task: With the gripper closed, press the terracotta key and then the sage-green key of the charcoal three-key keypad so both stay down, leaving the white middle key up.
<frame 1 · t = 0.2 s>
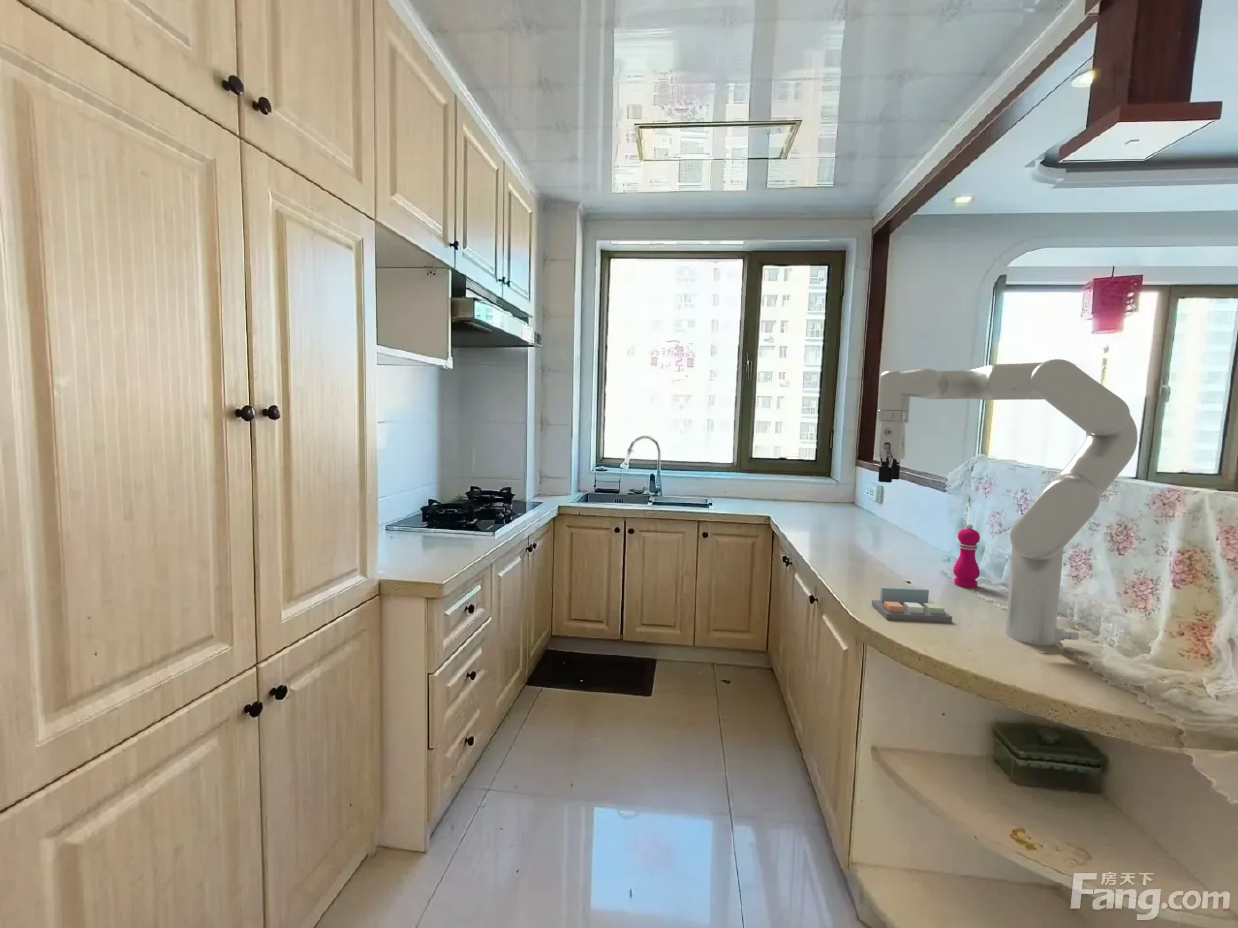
hand: (888, 480, 147), 36 cm above the worktop, tool pointing down, fingers open, 9 cm apart
keypad: (912, 621, 143), on the worktop
white key: (913, 610, 142), point 3 cm above the worktop, slide at 0.0 cm
terracotta key: (893, 609, 143), point 3 cm above the worktop, slide at 0.0 cm
pepper mill: (965, 585, 175), on the worktop
sage key: (933, 611, 142), point 3 cm above the worktop, slide at 0.0 cm
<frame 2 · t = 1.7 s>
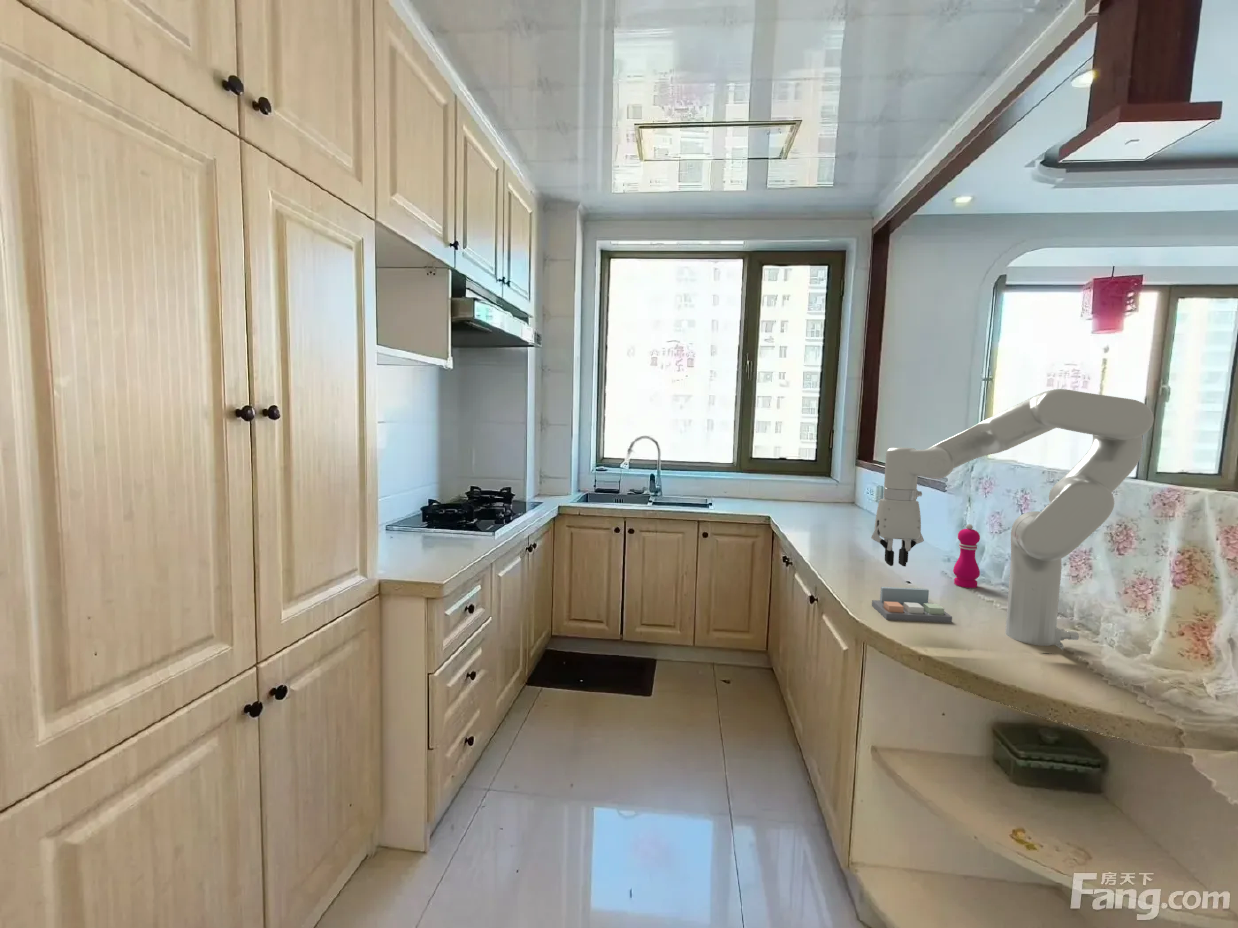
hand: (895, 564, 142), 15 cm above the worktop, tool pointing down, fingers closed
nothing on the worktop moved.
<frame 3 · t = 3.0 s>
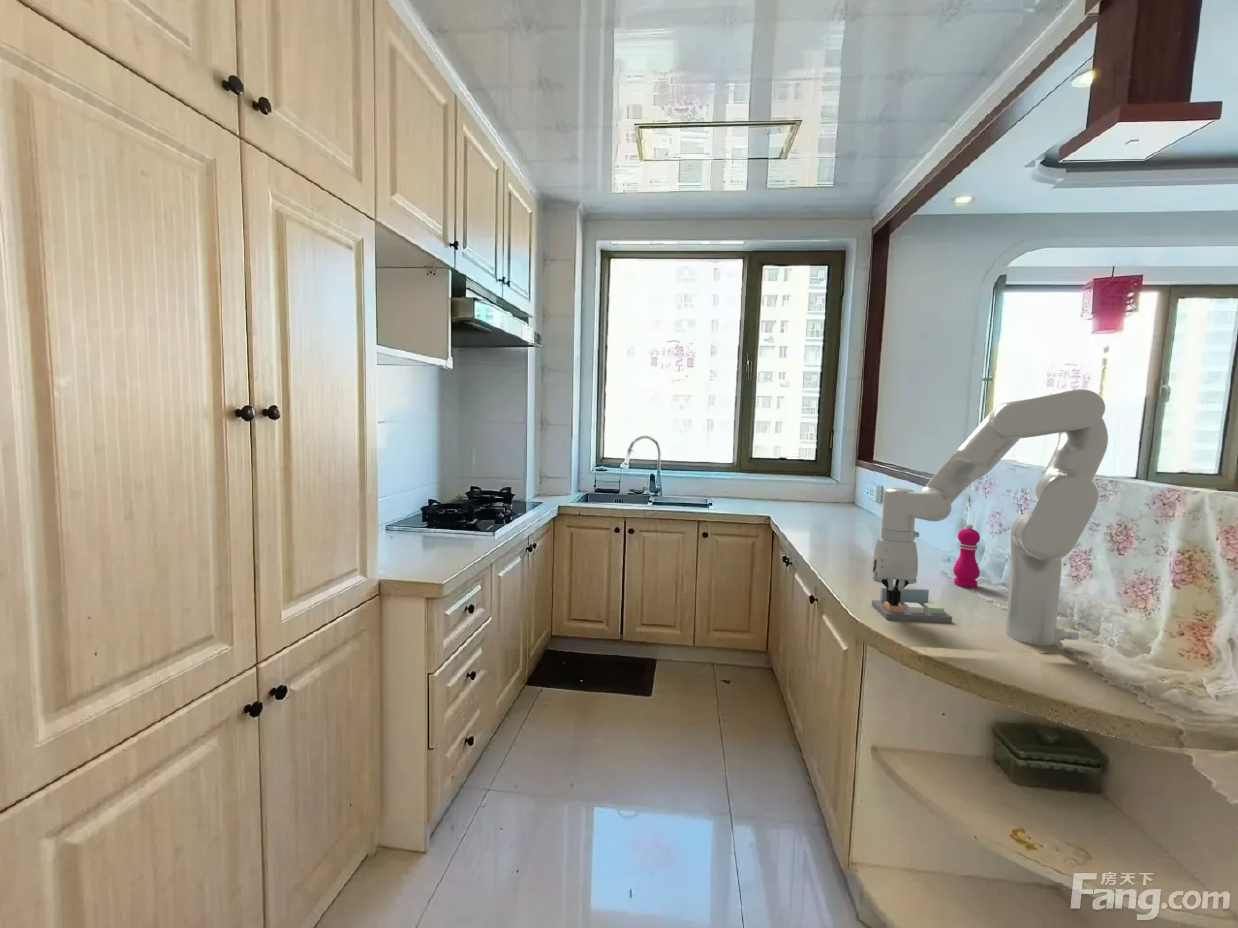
hand: (892, 603, 143), 4 cm above the worktop, tool pointing down, fingers closed
terracotta key: (893, 609, 143), point 3 cm above the worktop, slide at 0.1 cm, touching gripper
everything else where it was.
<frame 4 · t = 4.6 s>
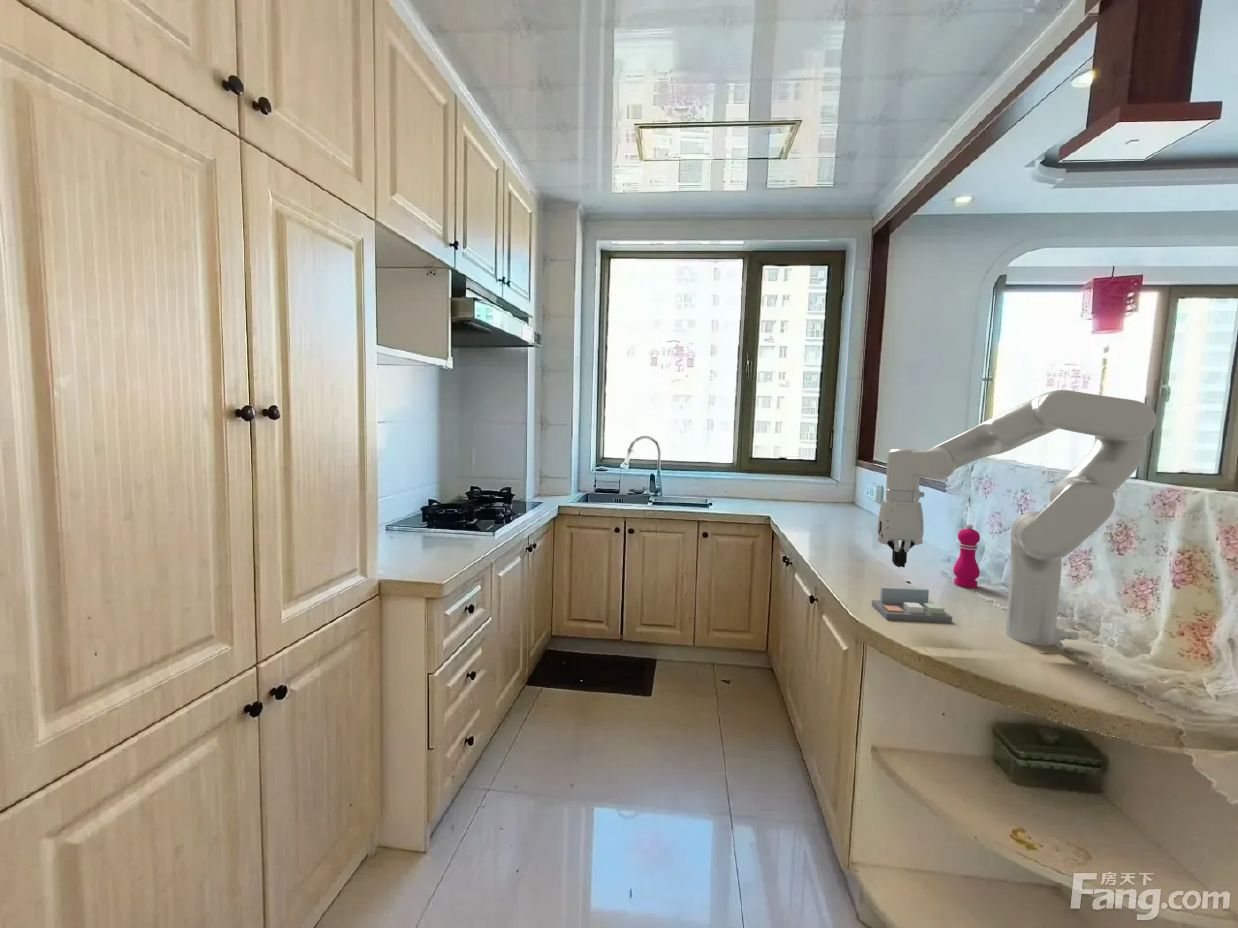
hand: (899, 565, 142), 15 cm above the worktop, tool pointing down, fingers closed
terracotta key: (893, 613, 143), point 2 cm above the worktop, slide at 1.1 cm
everything else where it was.
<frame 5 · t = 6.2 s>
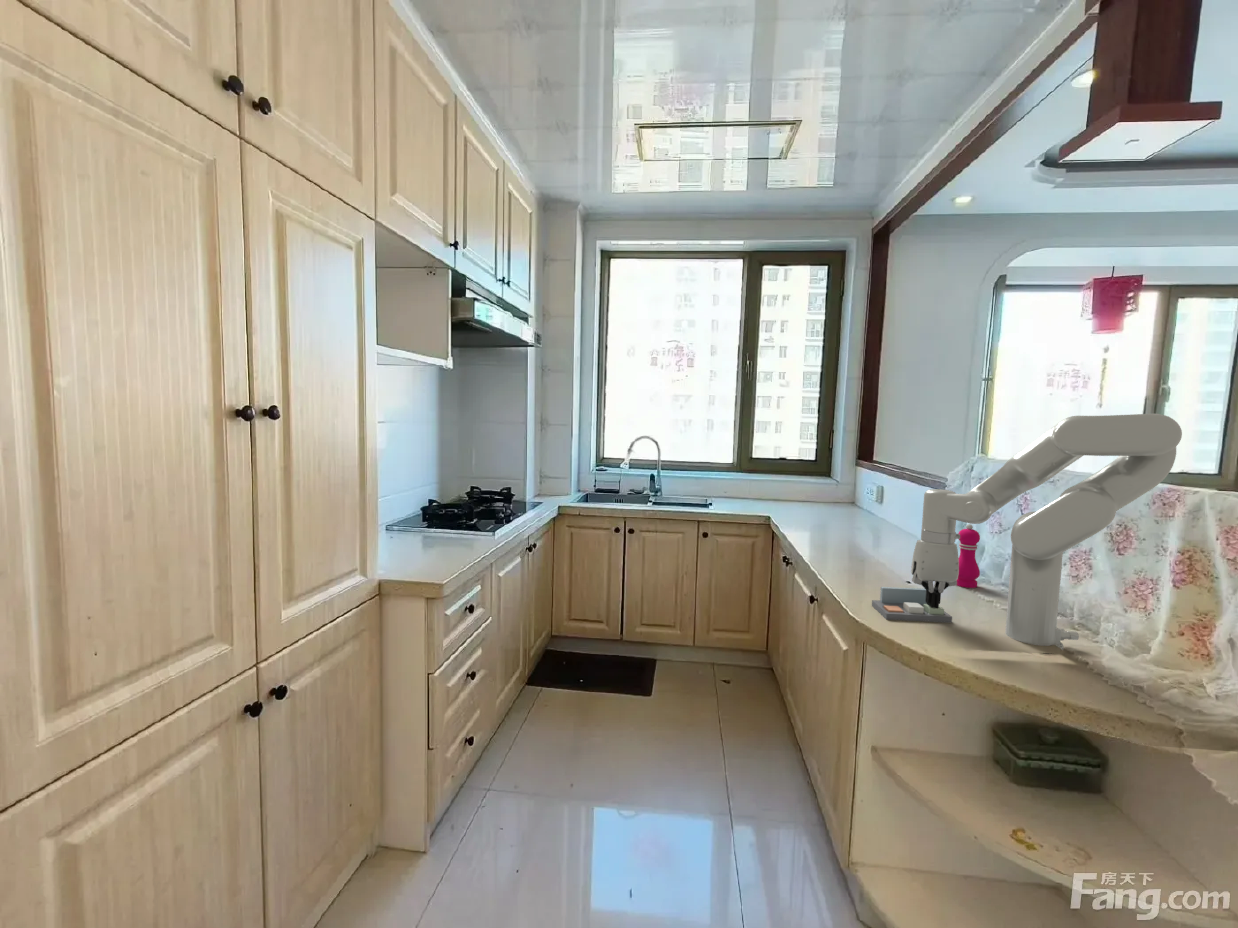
hand: (932, 605, 142), 4 cm above the worktop, tool pointing down, fingers closed
sage key: (933, 611, 142), point 3 cm above the worktop, slide at 0.2 cm, touching gripper
everything else where it was.
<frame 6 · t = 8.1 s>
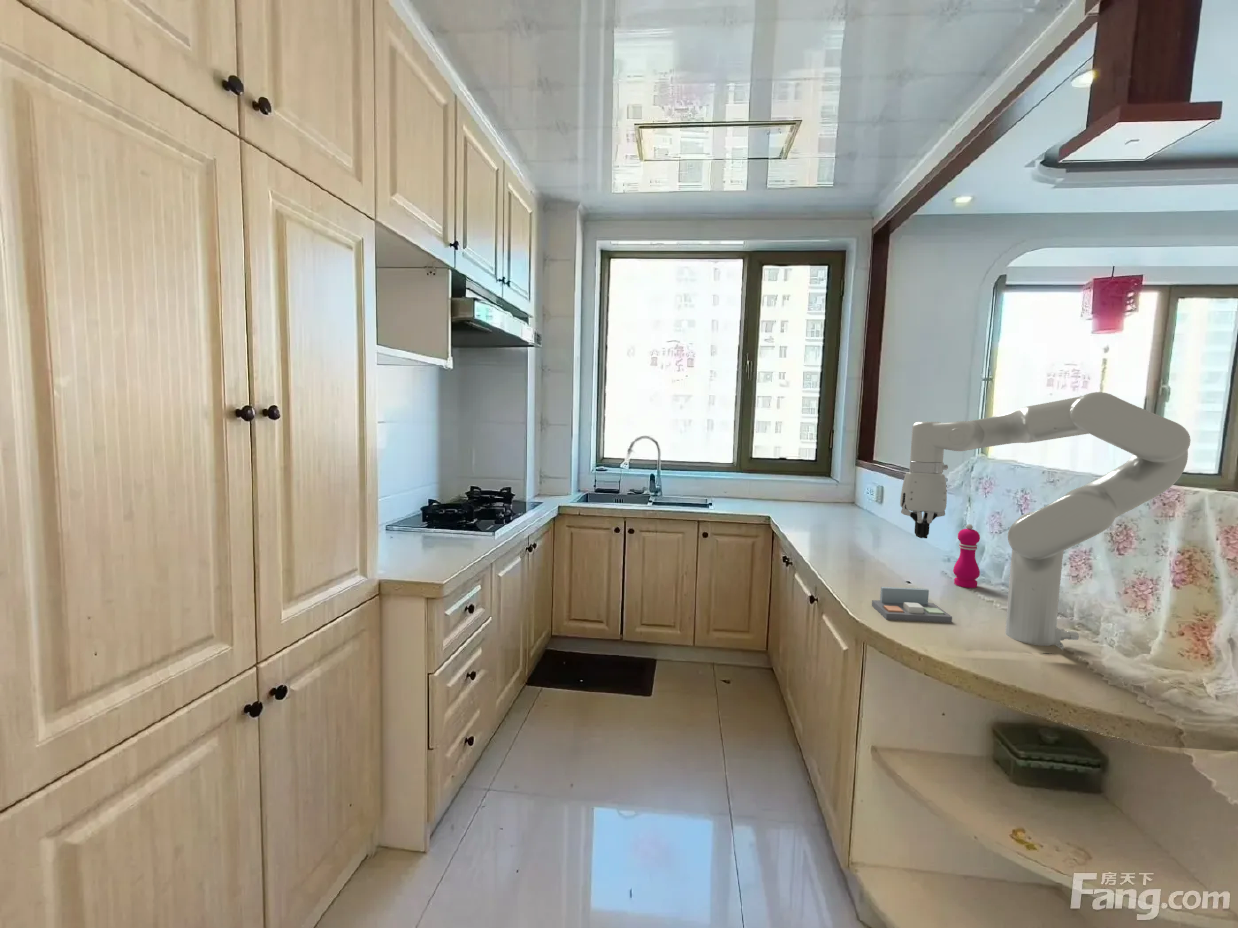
hand: (921, 537, 144), 22 cm above the worktop, tool pointing down, fingers closed
sage key: (933, 615, 142), point 2 cm above the worktop, slide at 1.1 cm
everything else where it was.
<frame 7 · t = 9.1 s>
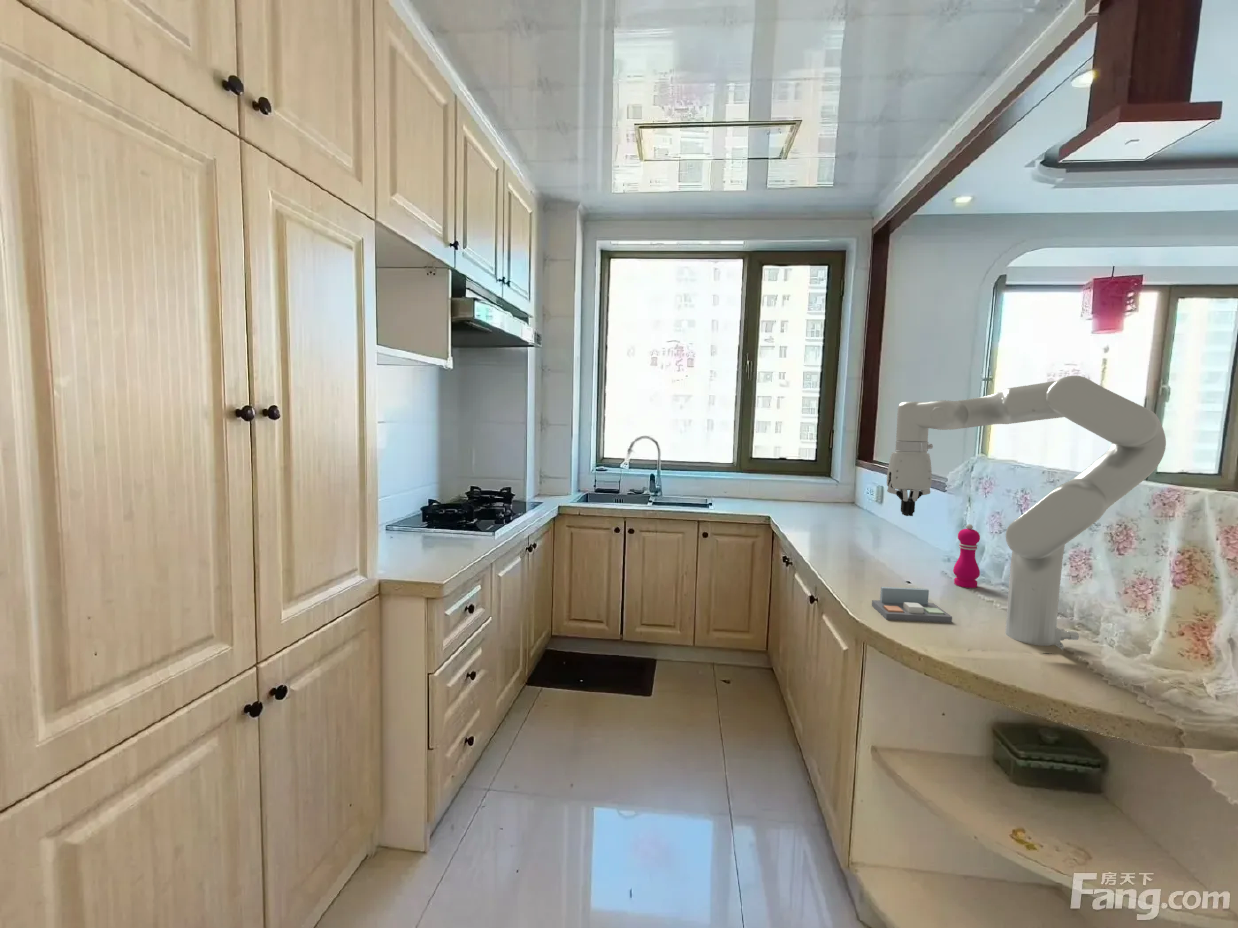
hand: (907, 515, 147), 27 cm above the worktop, tool pointing down, fingers closed
nothing on the worktop moved.
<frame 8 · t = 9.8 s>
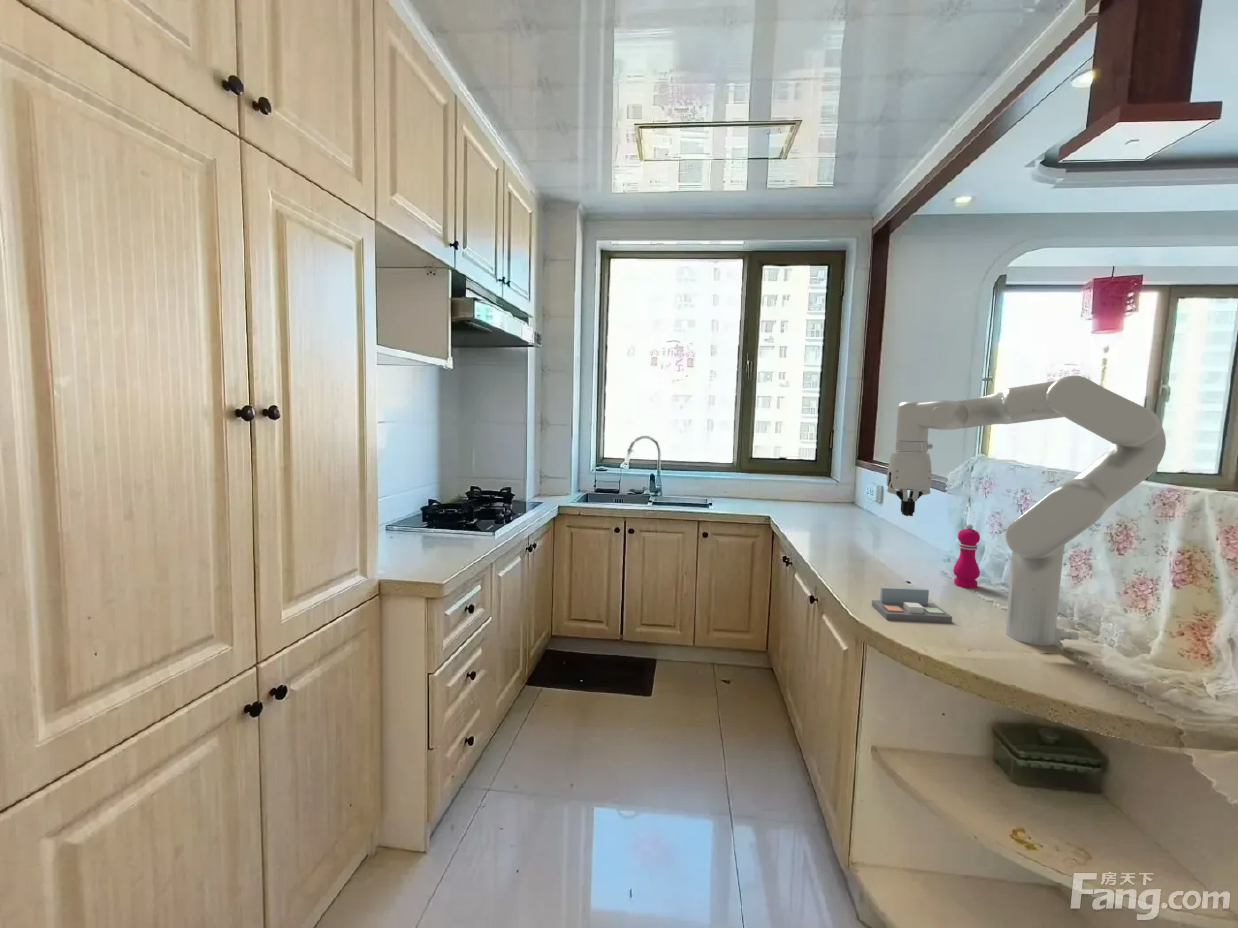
hand: (907, 515, 147), 27 cm above the worktop, tool pointing down, fingers closed
nothing on the worktop moved.
at the end: terracotta key slide at 1.1 cm; sage key slide at 1.1 cm; white key slide at 0.0 cm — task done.
